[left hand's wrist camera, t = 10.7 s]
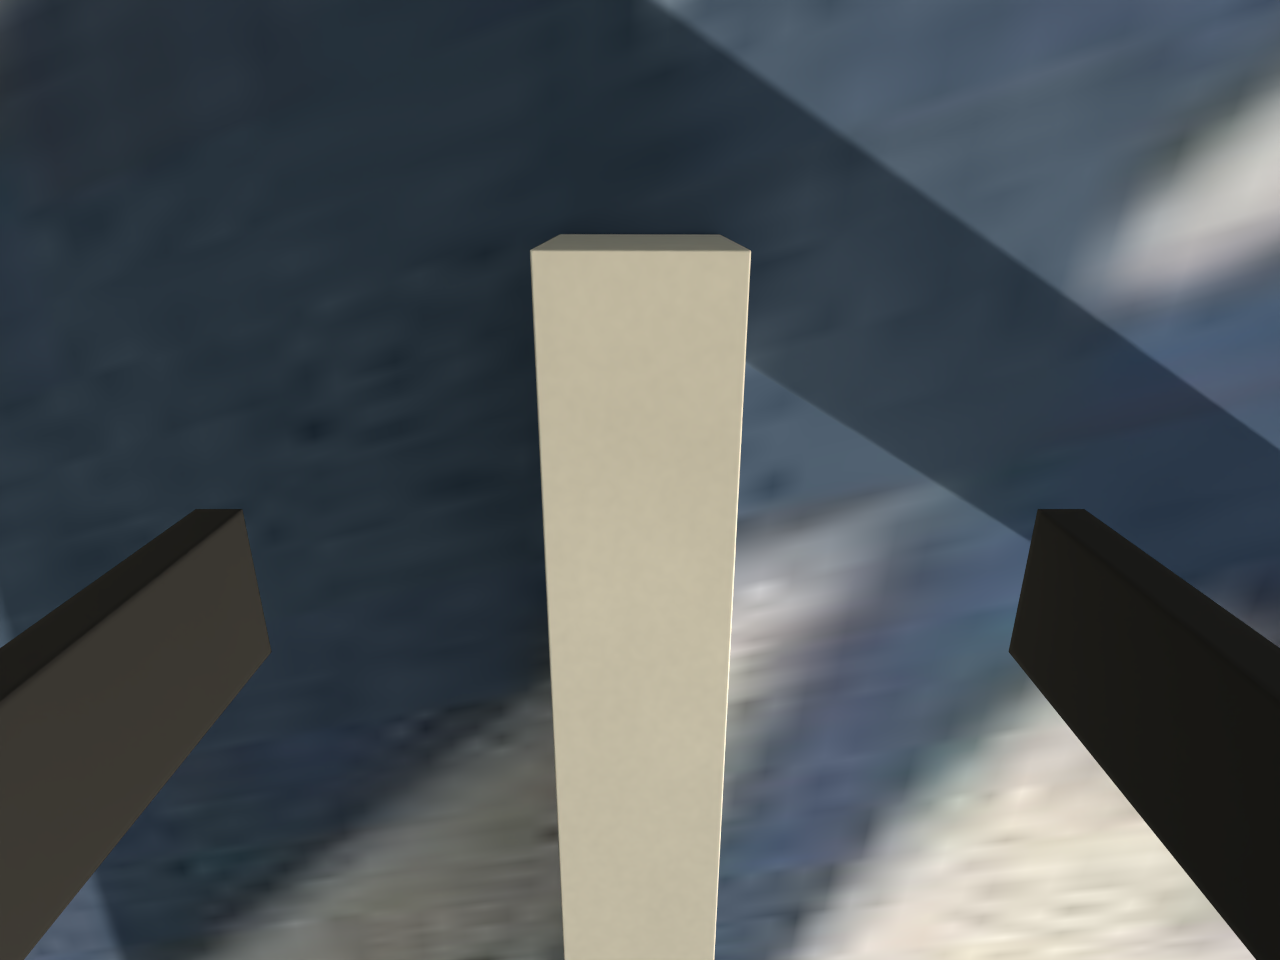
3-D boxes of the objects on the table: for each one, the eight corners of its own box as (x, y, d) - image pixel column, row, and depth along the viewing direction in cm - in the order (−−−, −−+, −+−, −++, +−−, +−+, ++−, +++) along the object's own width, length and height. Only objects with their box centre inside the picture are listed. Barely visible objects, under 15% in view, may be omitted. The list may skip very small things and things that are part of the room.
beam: (559, 234, 28) (529, 249, 20) (720, 234, 28) (751, 249, 20) (593, 1233, 51) (585, 1414, 43) (682, 1233, 51) (690, 1415, 43)
